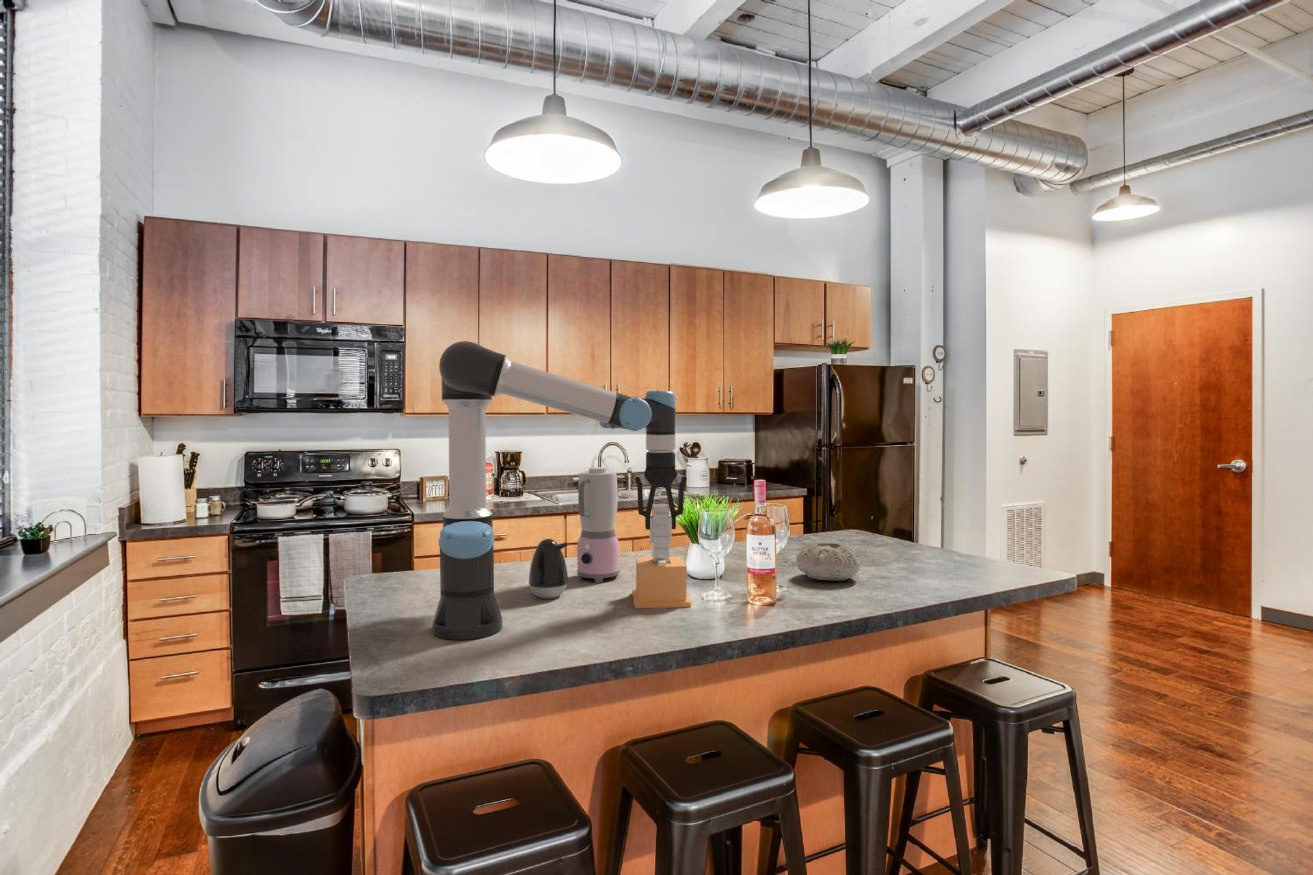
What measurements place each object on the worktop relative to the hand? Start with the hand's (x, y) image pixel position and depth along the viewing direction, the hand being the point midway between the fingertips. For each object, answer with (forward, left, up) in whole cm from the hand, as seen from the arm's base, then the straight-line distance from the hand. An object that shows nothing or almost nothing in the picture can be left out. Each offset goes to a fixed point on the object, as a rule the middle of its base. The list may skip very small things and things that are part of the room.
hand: (660, 541), depth 185 cm
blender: (+24, +17, -15) cm, 33 cm away
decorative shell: (+19, -50, -15) cm, 56 cm away
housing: (0, 0, -15) cm, 15 cm away
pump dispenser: (+6, +29, -15) cm, 33 cm away
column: (0, 0, -12) cm, 12 cm away
